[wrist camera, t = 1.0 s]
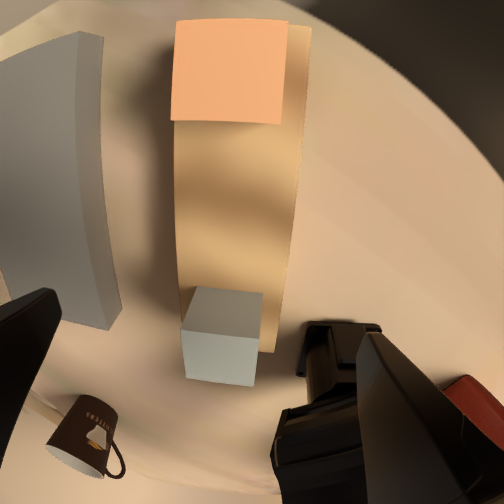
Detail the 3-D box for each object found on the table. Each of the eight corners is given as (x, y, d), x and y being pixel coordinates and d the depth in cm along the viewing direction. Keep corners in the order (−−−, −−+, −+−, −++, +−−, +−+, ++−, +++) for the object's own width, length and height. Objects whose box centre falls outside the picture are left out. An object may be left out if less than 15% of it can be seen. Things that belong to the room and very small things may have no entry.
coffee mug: (62, 384, 33) (33, 437, 24) (110, 395, 32) (82, 457, 23) (97, 428, 38) (77, 475, 29) (141, 438, 37) (124, 491, 28)
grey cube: (258, 340, 20) (253, 386, 16) (199, 334, 20) (186, 378, 16) (263, 292, 18) (259, 339, 14) (197, 286, 18) (180, 329, 15)
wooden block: (275, 317, 24) (273, 352, 20) (196, 308, 24) (184, 342, 21) (304, 43, 15) (311, 27, 11) (199, 38, 15) (180, 24, 11)
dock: (122, 308, 25) (108, 330, 22) (29, 289, 25) (13, 305, 22) (103, 37, 14) (79, 30, 12) (-1, 72, 15) (-25, 74, 12)
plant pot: (485, 342, 24) (545, 465, 9) (504, 395, 29) (537, 478, 14) (349, 426, 31) (360, 548, 16) (405, 454, 36) (419, 538, 21)
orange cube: (279, 120, 13) (280, 124, 10) (197, 116, 14) (170, 120, 10) (285, 43, 12) (288, 21, 8) (202, 40, 12) (176, 21, 8)
